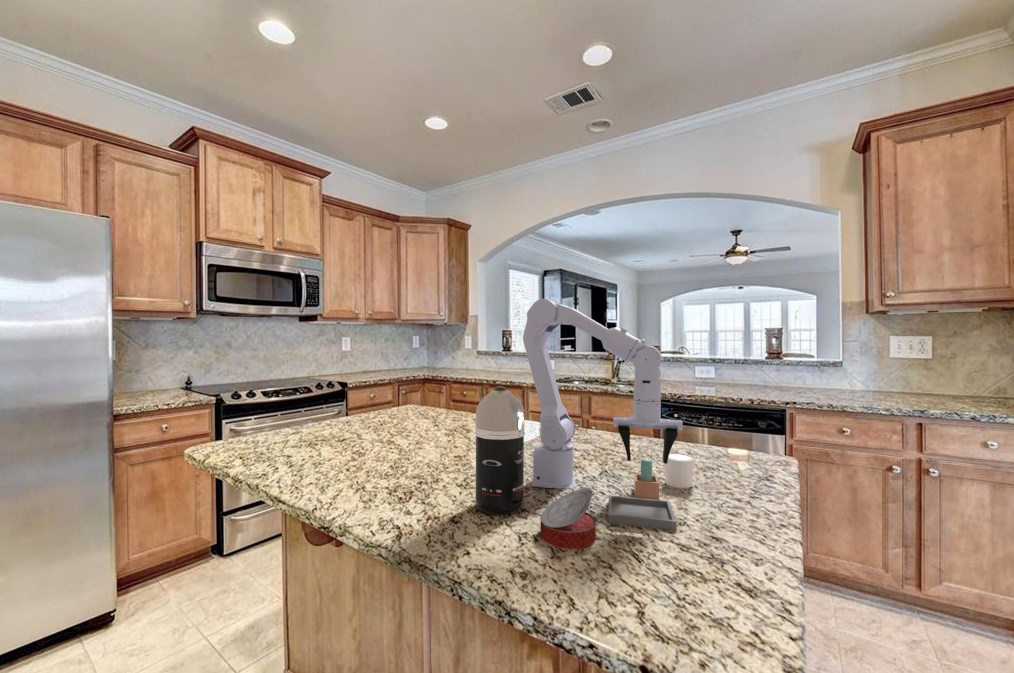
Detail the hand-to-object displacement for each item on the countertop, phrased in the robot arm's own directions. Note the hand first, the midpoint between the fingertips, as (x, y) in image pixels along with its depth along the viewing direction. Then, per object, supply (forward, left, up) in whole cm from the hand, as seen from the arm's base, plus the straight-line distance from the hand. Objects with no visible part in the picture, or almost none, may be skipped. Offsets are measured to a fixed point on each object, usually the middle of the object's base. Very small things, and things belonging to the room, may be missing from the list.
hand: (646, 461), depth 96 cm
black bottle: (-30, -14, -8) cm, 34 cm away
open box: (0, 0, -8) cm, 8 cm away
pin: (0, 0, -7) cm, 7 cm away
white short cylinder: (+8, +9, -8) cm, 14 cm away
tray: (-2, -12, -8) cm, 15 cm away
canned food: (-15, -23, -8) cm, 29 cm away
